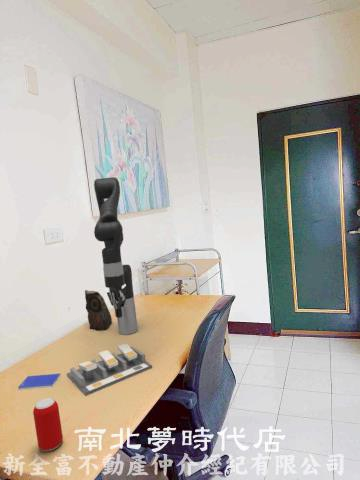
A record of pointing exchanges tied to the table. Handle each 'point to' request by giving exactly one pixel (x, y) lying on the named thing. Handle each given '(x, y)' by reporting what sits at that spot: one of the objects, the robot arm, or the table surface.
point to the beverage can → (47, 424)
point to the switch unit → (108, 372)
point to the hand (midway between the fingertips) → (119, 317)
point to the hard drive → (39, 381)
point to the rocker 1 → (87, 366)
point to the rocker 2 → (127, 351)
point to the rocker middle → (108, 359)
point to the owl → (97, 311)
